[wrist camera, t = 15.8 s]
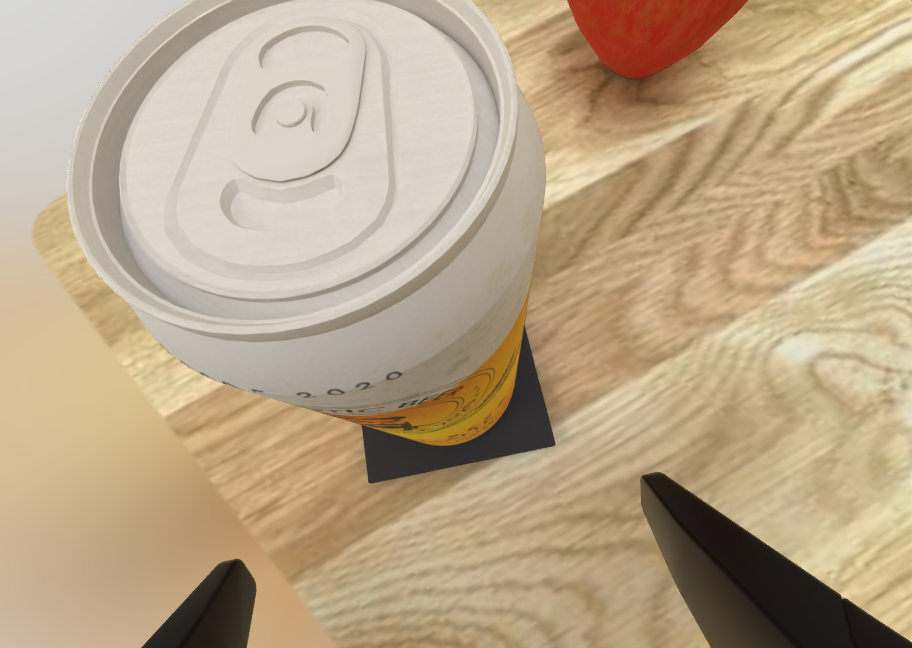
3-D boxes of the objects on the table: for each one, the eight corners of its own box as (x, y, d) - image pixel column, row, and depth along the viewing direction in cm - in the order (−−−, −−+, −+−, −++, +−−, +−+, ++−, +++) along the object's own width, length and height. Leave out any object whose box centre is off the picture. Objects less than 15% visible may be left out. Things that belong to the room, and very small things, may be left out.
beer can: (373, 444, 18) (-56, 372, 4) (385, 311, 20) (116, -45, 6) (515, 448, 18) (570, 380, 4) (513, 311, 20) (546, -88, 5)
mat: (554, 445, 18) (555, 445, 18) (371, 483, 18) (368, 483, 18) (511, 278, 21) (511, 273, 20) (351, 313, 21) (348, 309, 21)
